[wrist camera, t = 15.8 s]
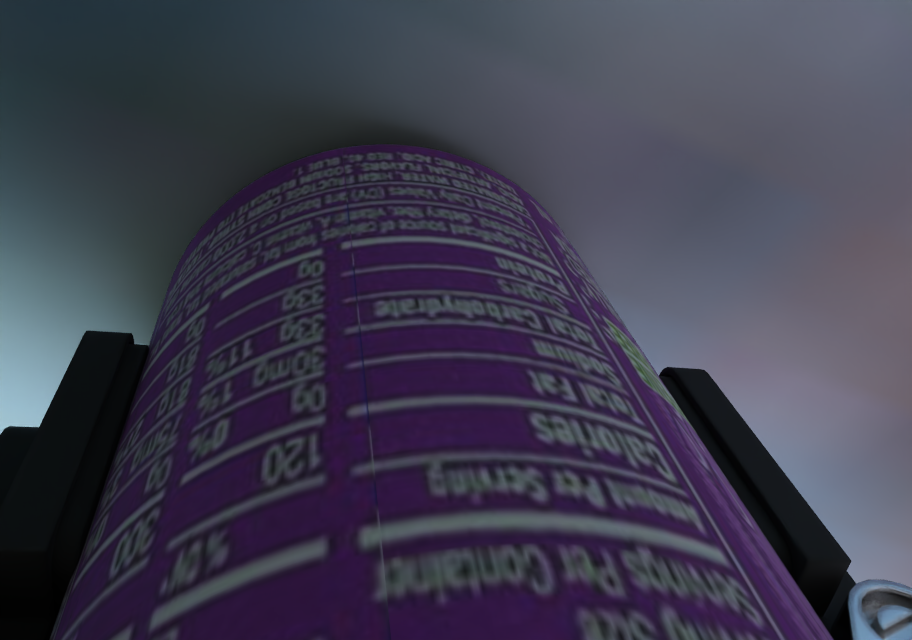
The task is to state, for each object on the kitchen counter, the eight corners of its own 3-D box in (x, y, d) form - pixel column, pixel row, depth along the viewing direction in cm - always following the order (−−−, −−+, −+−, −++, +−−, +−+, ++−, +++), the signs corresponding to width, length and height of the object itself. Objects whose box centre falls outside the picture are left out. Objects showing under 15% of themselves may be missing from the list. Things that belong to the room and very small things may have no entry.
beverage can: (384, 544, 17) (494, 1623, 7) (77, 344, 14) (-625, 1783, 3) (654, 316, 15) (1375, 1281, 5) (375, 29, 12) (728, 1008, 2)
